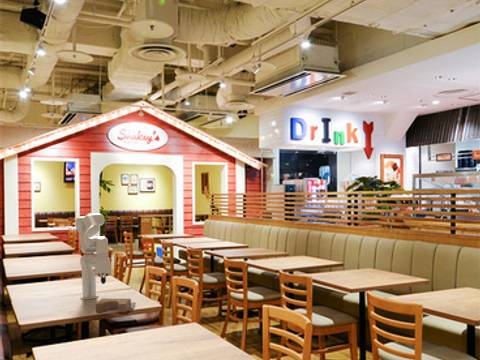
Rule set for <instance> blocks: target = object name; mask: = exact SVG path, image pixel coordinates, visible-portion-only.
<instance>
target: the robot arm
mask: <svg viewBox="0 0 480 360" xmlns="http://www.w3.org/2000/svg"><path fill="white" fill-rule="evenodd" d="M105 221H106V220H105V216H104V215H103V214H102V213H88V214H86V215H85V216H84V215H83V216H82V215H81V216H78V217H77V218H76V219H75V221H74V223H75V228H76V231H77V232H78V236H79V245H80V250H81V252H82V253H84V255H82V256H81V257H80V258H79V263H80V267H81V285H82V286H81V287H82V295H81V296H80V299H81V300H93V299H97V298H98V297H99V294H97V284H96V283H97V281H96V280H97V279H96V278H97V277H99V278H100V283H101V284H103V285H105V284H106V282H107V278H106V277H108V276H109V275H112V268H111V267H112V265H111V258H110V257H109V240H108V238H107V237H106V236H104V235H103V236H95V235H96V234H98V233H99V232H100V228H101V227H102V226H103V225H104V224H105ZM93 268H94V269H93ZM96 276H97V277H96Z"/></svg>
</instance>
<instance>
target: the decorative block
mask: <svg viewBox="0 0 480 360" xmlns="http://www.w3.org/2000/svg"><path fill="white" fill-rule="evenodd" d="M131 303H132V300H131V298H101V299H100V300H98V301H97V302H96V303H95V313H103V312H107V311H106V310H110V309H117V310H116V311H118V313H126V312H128V310H130V309H129V308H130V307H131Z"/></svg>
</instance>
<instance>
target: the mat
mask: <svg viewBox="0 0 480 360" xmlns="http://www.w3.org/2000/svg"><path fill="white" fill-rule="evenodd" d="M135 306H136V301H134V302H133V301H131V307H130V308H129V309H128V310H134V309H135ZM110 311H118V310H117V309H110V310H106V311H105V312H110Z"/></svg>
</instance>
